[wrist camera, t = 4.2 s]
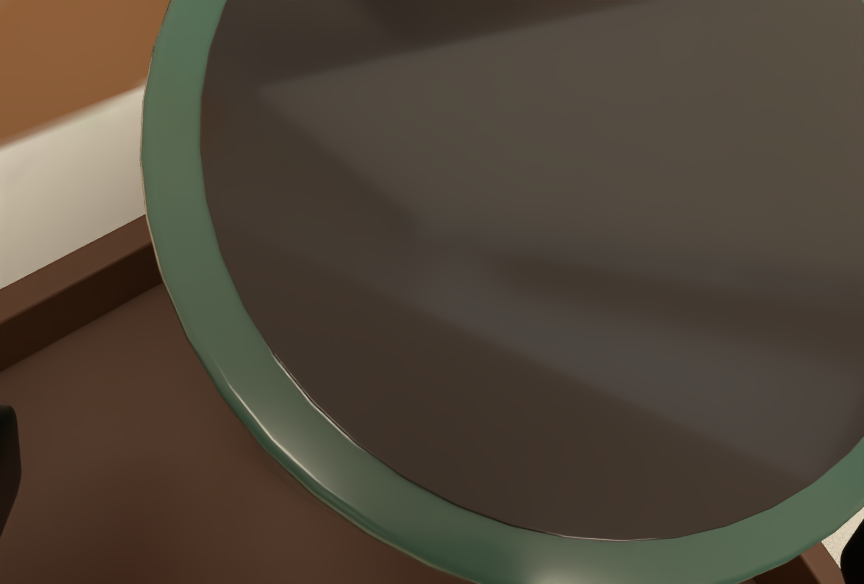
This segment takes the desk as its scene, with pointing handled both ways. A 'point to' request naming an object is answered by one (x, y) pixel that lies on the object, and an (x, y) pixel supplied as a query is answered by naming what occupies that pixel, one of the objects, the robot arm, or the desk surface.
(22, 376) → the tray
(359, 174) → the pen pot
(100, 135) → the desk surface
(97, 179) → the desk surface
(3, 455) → the robot arm
